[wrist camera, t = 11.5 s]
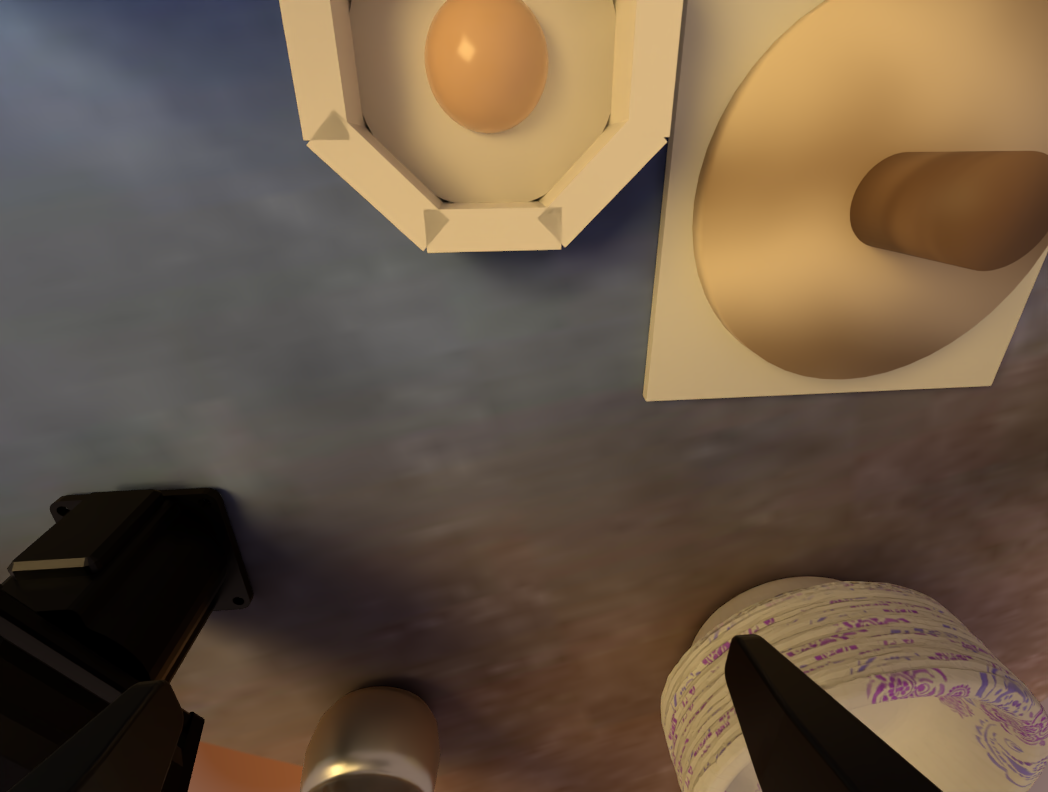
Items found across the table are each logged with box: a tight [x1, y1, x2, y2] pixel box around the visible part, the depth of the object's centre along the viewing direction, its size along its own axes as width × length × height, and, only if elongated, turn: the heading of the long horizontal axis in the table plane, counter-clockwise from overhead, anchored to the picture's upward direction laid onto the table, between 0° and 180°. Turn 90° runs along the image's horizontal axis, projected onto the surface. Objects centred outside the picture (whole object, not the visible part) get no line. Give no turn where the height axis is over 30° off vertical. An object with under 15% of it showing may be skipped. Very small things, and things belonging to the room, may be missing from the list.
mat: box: [643, 0, 1048, 401], centre depth 18 cm, size 15×15×1 cm
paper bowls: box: [661, 576, 1048, 792], centre depth 25 cm, size 15×15×8 cm
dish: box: [279, 0, 683, 253], centre depth 15 cm, size 10×10×4 cm
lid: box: [692, 0, 1048, 379], centre depth 16 cm, size 13×13×5 cm
